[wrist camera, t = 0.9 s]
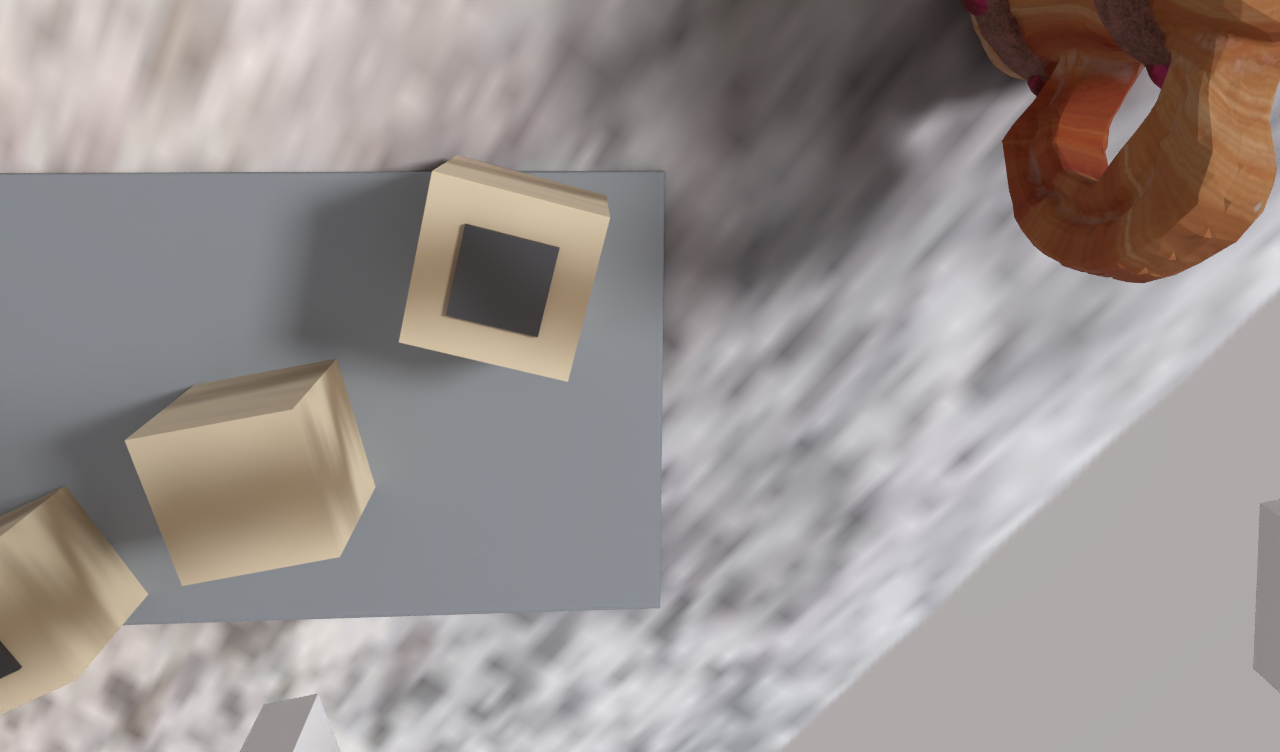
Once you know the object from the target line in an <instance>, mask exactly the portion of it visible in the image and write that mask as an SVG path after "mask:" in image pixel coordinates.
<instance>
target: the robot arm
mask: <svg viewBox="0 0 1280 752" xmlns="http://www.w3.org/2000/svg"><path fill="white" fill-rule="evenodd" d="M1255 613H1256V614H1255V636H1254V660H1253V661H1254V662H1253V669H1254V670H1255V671H1257V672H1258V673H1259V674H1260V675H1261V676H1262V677H1263V678H1264V679H1265V680H1266V681H1267V682H1269V683H1270V684H1271V685H1272V686H1273V687H1274V688H1275V689H1276V690H1277V691H1279V692H1280V499H1279V500H1274V501H1269V502H1265V503H1260V517H1259V541H1258V565H1257V590H1256V612H1255ZM240 752H341V751H340V749H339V746H338V744H337V741H336V739H335V736H334V734H333V731H332V728H331V726H330V723H329V721H328V718H327V716H326V713H325V711H324V708H323V706H322V703H321V700H320V698H319V695H318V694H314V695H309V696H304V697H299V698H294V699H289V700H284V701H279V702H275V703H270V704H265V705H263V707H262V709H261V711H260V713H259V715H258V717H257V719H256V721H255V723H254V725H253V727H252V729H251V731H250V733H249V735H248V737H247V739H246V741H245V743H244V745H243V747H242V749H241V751H240Z"/></svg>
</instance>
